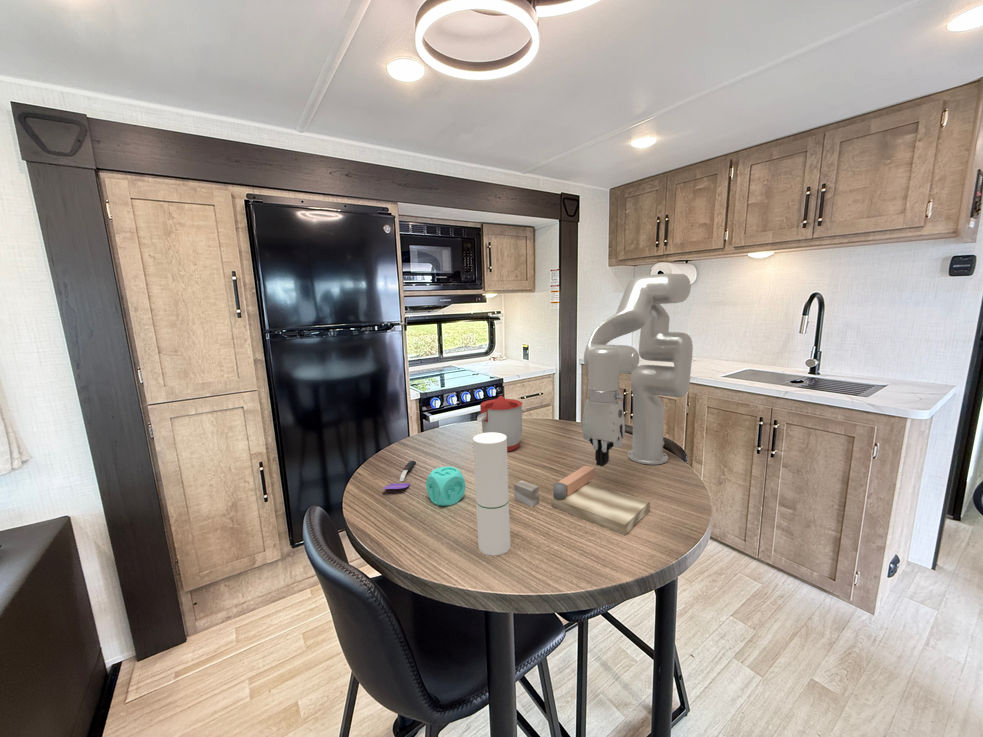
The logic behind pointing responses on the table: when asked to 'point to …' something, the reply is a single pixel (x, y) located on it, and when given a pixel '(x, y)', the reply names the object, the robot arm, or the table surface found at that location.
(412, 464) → the spatula
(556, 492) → the stool leg
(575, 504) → the stool seat
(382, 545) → the table surface
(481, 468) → the cylindrical container
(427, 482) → the decorative dice
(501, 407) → the citrus juicer
